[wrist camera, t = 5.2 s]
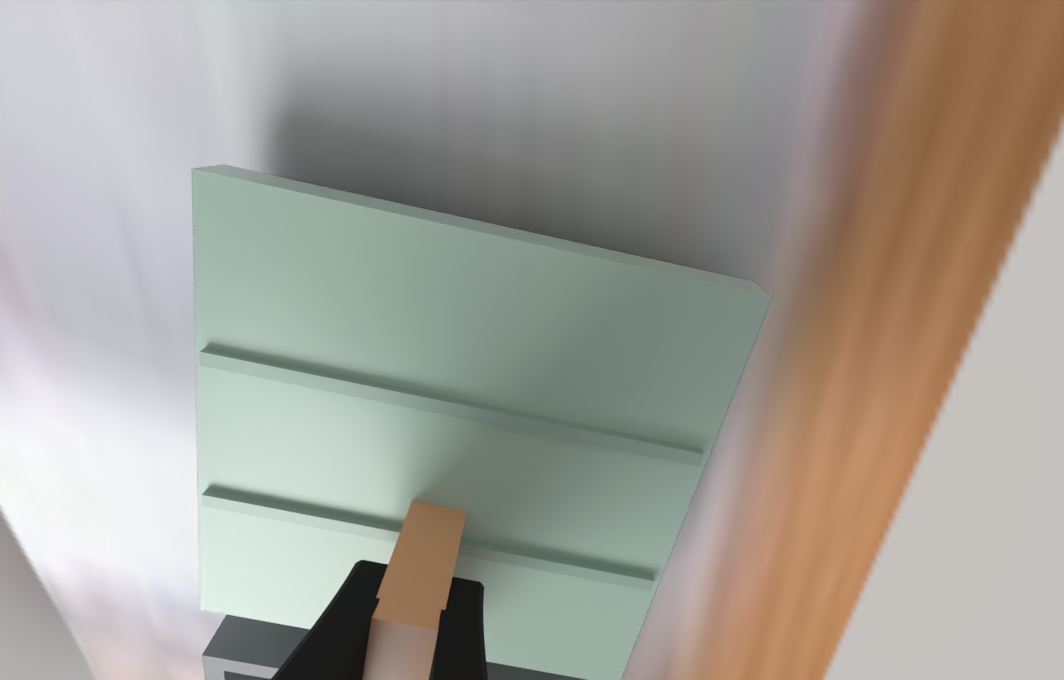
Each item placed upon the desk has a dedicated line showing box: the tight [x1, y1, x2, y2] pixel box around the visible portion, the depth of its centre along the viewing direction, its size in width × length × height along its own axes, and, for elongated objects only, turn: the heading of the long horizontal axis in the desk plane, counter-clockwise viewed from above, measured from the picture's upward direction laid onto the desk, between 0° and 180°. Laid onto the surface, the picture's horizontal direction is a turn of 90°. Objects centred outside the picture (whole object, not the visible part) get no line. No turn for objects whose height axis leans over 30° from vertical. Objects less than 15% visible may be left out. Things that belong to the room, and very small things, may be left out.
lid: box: [192, 165, 772, 680], centre depth 11 cm, size 10×10×5 cm
